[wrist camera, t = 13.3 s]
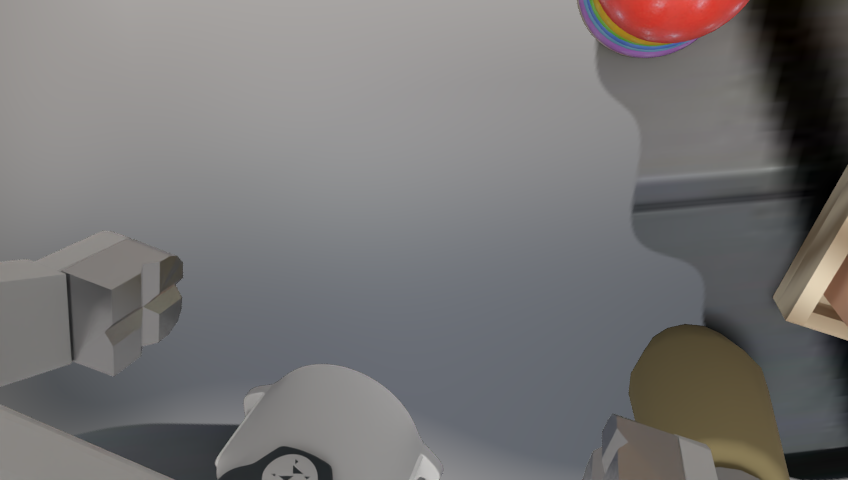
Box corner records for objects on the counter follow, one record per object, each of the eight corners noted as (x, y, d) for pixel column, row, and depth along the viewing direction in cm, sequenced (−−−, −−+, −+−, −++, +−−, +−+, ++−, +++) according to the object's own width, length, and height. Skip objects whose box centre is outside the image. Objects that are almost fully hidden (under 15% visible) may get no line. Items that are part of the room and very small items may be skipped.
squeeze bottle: (776, 384, 39) (899, 654, 23) (661, 423, 42) (698, 681, 26) (718, 288, 37) (804, 504, 21) (604, 336, 41) (606, 553, 25)
